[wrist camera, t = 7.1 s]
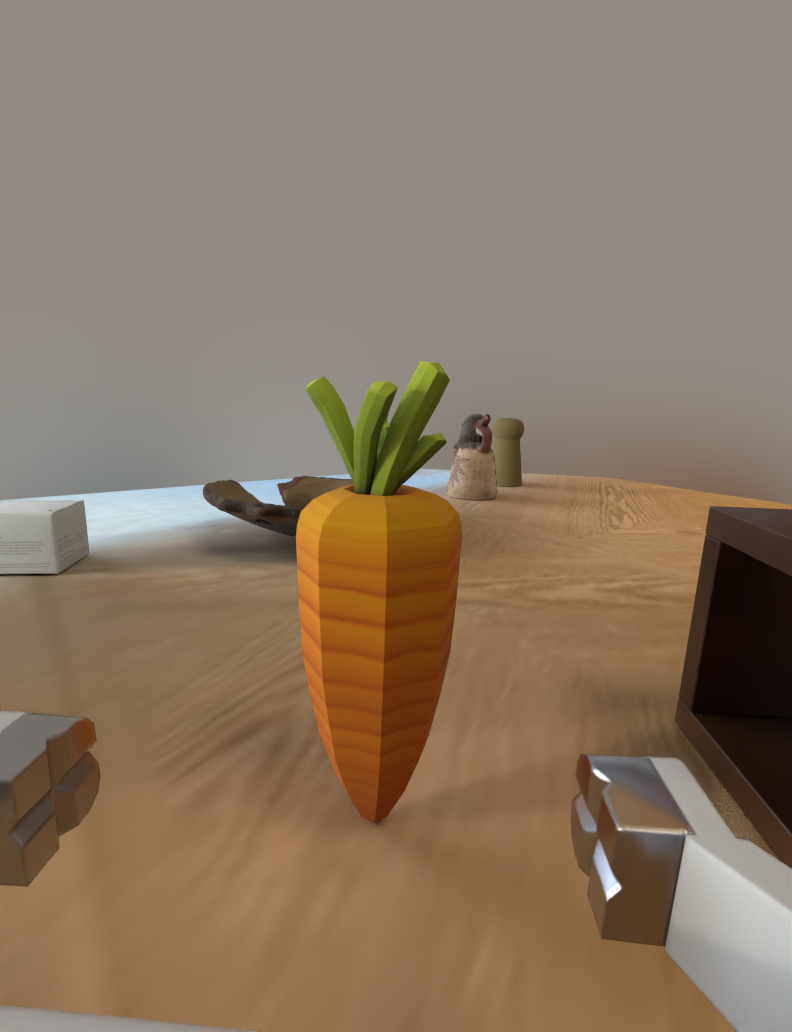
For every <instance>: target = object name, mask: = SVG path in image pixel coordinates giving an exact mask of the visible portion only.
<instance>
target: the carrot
mask: <svg viewBox="0 0 792 1032" xmlns="http://www.w3.org/2000/svg"><path fill="white" fill-rule="evenodd" d="M449 380H450V379H449V378H448V376H447V375H446V373H445V371H444V370H443V368H442V367H441V365H440V364H439V363H432V362H425V361H421V362H420V364H419V366H418V367H417V370H416V371H415V373H414V375H413V377H412V379H411V380H410V382H409V384H408V386H407V388H406V390H405V392H404V394H403V397H402V399H401V401H400V403H399V405H398V407H397V410H396V412H395V414H394V416H393V418H392V421H391V423H388V422H387V418H388V412H389V409H390V407H391V404H392V401H393V399H394V396H395V393H396V391H397V387H396V386H395V385H394V384H392V383H391V382H389V381H377V382H374V383H373V384H372V385H371V386H370V388H369V389H368V391H367V394H366V396H365V399H364V401H363V404H362V406H361V409H360V412H359V416H358V419H357V423H356V426H355V430H353V428H352V425H351V422H350V419H349V416H348V414H347V411H346V408H345V405H344V403H343V402H342V400H341V398H340V397H339V395H338V393H337V392H336V390H335V388H334V387H333V386H332V385H331V383H330V382H329V381H328V380H327V379H326V378H325V377H322V378H319V379H316V380H313V381H312V382H311V383H310V384H309V385H308V386H307V387H306V392H307V393H308V395H309V396H310V398H311V400H312V401H313V403H314V405H315V406H316V408H317V409H318V411H319V412H320V414H321V416H322V418H323V420H324V422H325V424H326V426H327V428H328V430H329V432H330V434H331V436H332V438H333V440H334V442H335V444H336V447H337V449H338V451H339V453H340V455H341V457H342V459H343V461H344V463H345V466H346V468H347V470H348V472H349V474H350V476H351V479H352V481H353V483H354V485H349V486H343V487H340V488H337V489H335V490H332V491H329V492H327V493H325V494H323V495H321V496H319V497H317V498H315V499H313V500H312V501H311V502H310V503H309V504H308V505H307V506H306V507H305V508H304V509H303V510H302V511H301V513H300V516H299V520H298V523H297V531H296V552H297V577H298V600H299V613H300V627H301V641H302V654H303V659H304V665H305V670H306V675H307V680H308V685H309V690H310V695H311V700H312V704H313V708H314V712H315V717H316V721H317V725H318V729H319V733H320V737H321V740H322V742H323V745H324V747H325V749H326V752H327V754H328V756H329V759H330V761H331V763H332V766H333V768H334V771H335V773H336V775H337V776H338V778H339V780H340V782H341V783H342V785H343V787H344V788H345V790H346V792H347V793H348V795H349V797H350V798H351V800H352V802H353V803H354V805H355V807H356V809H357V810H358V812H359V814H360V815H361V817H363V818H365V819H367V820H370V821H373V822H374V821H377V820H379V819H381V818H383V817H386V816H388V814H389V813H390V811H391V810H392V808H393V807H394V805H395V804H396V803H397V801H398V800H399V798H400V797H401V795H402V794H403V792H404V791H405V789H406V787H407V785H408V782H409V780H410V778H411V776H412V774H413V772H414V770H415V767H416V765H417V763H418V761H419V758H420V756H421V753H422V751H423V748H424V746H425V743H426V741H427V738H428V736H429V733H430V729H431V725H432V722H433V718H434V715H435V711H436V707H437V704H438V700H439V697H440V693H441V689H442V684H443V680H444V676H445V671H446V667H447V663H448V658H449V654H450V648H451V640H452V631H453V623H454V614H455V606H456V597H457V586H458V574H459V562H460V550H461V539H462V536H461V523H460V519H459V515H458V512H457V511H456V510H455V509H454V508H453V507H452V506H451V505H450V503H449V502H448V501H447V500H445V499H443V498H441V497H439V496H438V495H436V494H433V493H430V492H427V491H424V490H421V489H418V488H414V487H410V486H406V485H402V484H403V483H404V482H406V481H407V480H408V479H409V478H410V477H411V476H412V475H413V474H414V473H415V472H416V471H417V470H419V469H420V467H422V466H423V465H424V464H425V463H426V462H427V461H428V460H429V459H430V458H431V457H432V456H433V455H434V454H435V453H436V452H438V450H440V449H441V448H442V447H443V446H444V445H445V444H446V443H447V442H446V440H445V439H444V437H443V435H442V434H441V433H439V434H433V435H426V436H423V437H422V438H421V439H420V440H419V441H418V439H419V437H420V435H421V434H422V432H423V430H424V428H425V426H426V424H427V422H428V421H429V419H430V417H431V416H432V414H433V412H434V410H435V408H436V406H437V405H438V403H439V401H440V399H441V397H442V395H443V393H444V391H445V389H446V387H447V385H448V383H449ZM417 441H418V442H417Z"/></svg>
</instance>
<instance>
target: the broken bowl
mask: <svg viewBox="0 0 792 1032" xmlns="http://www.w3.org/2000/svg"><path fill="white" fill-rule="evenodd" d="M349 485H354V483H353V481H352V479H335V478H324V477H309V476H302V477H295V478H293V480H292V481H290V482H287V483H279V484H278V485H277V486H278V488H279V492H280V495H281V496H282V499H283V502H284V503H285V506H281V505H274V504H265V503H262V502H260V501H258V500H257V499H256V498H255V497H254V496H253V495H252V494H250V493H249V492H247V491H246V490H245V489H244V488H243V487H242V486H241V485H240V484H239V483H237V482H235V481H233V480H228V481H217V482H215V483H214V482H213V483H208V484H206V485H205V486H204V487H203V495H204V498H205V499H206V500H207V501H208V502H209V503H210V504H211V505H213V506H215V507H217V509H219V510H221V511H224V512H227V513H229V514H231V515H233V516H235V517H238V518H240V519H242V520H245V521H247V522H250V523H252V524H255V525H257V526H260V527H263V528H266V529H269V530H272V531H276V532H279V533H283V534H286V535H290V536H296V531H297V523H298V520H299V516H300V513H301V511H302V510H303V509H304V508H305V507H306V506H307V505H308V504H309V503H310V502H311V501H312V500H313V499H315V498H317V497H319V496H321V495H323V494H325V493H327V492H329V491H332V490H335V489H337V488H340V487H343V486H349Z"/></svg>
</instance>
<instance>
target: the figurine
mask: <svg viewBox="0 0 792 1032" xmlns="http://www.w3.org/2000/svg"><path fill="white" fill-rule="evenodd" d="M490 420H491V417H490V415H489V414H485V415H484V416H482V415H481V414H472V415H470V416H469V417H467V418H466V419H465V420H464V421H463V422H462V425H461V426H462V427H461V431H460V435H459V439H458V443H457V444H455V445H454V448H455V449H456V450H455V452H454V454H453V459H452V468H451V474H450V479H449V482H448V490H447V493H448V496H451V497H454V498H459V499H467V500H489V499H493V498H495V497H496V494H497V477H496V465H495V457H494V453H493V451H492V449H491V443H492V432H491V430H490V429H489V427H488V424H489V422H490Z"/></svg>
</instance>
